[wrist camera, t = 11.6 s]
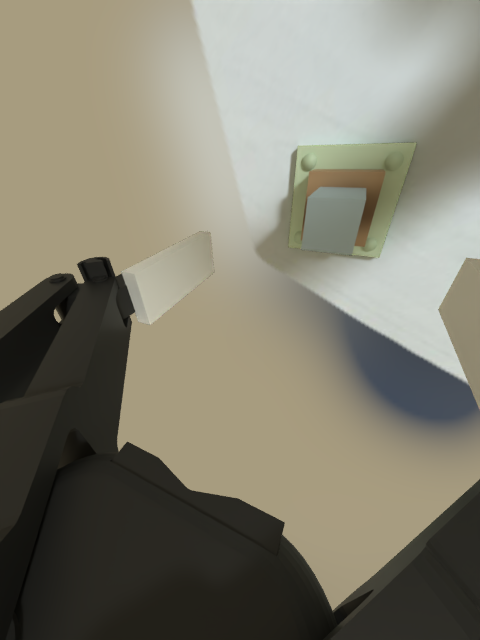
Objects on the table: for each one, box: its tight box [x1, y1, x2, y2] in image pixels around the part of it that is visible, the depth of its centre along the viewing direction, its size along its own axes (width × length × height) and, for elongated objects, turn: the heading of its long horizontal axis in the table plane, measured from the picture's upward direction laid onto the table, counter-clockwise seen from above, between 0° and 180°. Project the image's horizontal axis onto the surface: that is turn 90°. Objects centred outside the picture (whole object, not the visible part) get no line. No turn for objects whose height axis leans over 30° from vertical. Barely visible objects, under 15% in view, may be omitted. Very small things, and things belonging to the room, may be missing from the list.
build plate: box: [288, 142, 417, 258], centre depth 32 cm, size 13×13×1 cm
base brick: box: [301, 169, 386, 247], centre depth 30 cm, size 8×8×4 cm
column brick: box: [301, 187, 366, 256], centre depth 26 cm, size 5×5×8 cm
